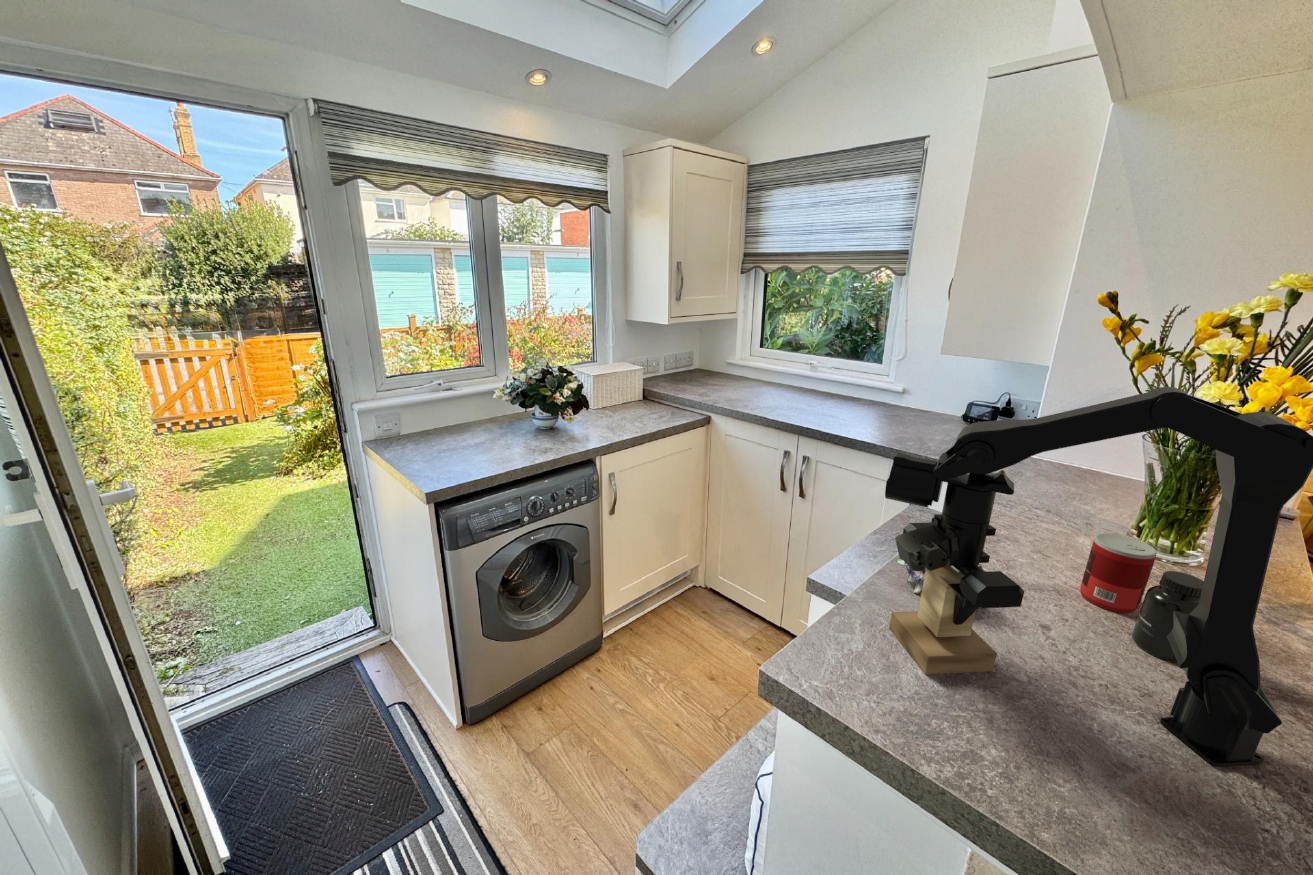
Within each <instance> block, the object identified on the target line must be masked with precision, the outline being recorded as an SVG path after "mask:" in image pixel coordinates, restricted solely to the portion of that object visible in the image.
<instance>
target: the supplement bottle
mask: <svg viewBox="0 0 1313 875" xmlns="http://www.w3.org/2000/svg"><path fill="white" fill-rule="evenodd" d="M1203 583H1204V579H1201V578H1199V577H1197V576H1195V575H1192V574H1189V573H1186V572H1182V571H1178V570H1177V571H1175V570H1167V571H1164V572H1163V574H1162V575H1161V579H1160V580H1159V583H1158V584H1159V585H1152V586H1151V587H1149V588H1148V589H1147V591H1146V593H1145V595H1144V598H1143V601H1142V604H1141V606H1140V609H1139V612H1138V615H1137V618H1136V619H1135V620H1136V621H1135V623H1134V627H1133V629H1132V632H1131V638H1132V640H1133V642H1134V643H1135V645H1137V647H1139V648H1140V649H1142V650H1143V651H1144V652H1146V653H1148V654H1150V655H1152V656H1154V657H1156V658H1159V659H1162V660H1164V661H1169V662H1173V663H1174V662H1175V663H1178V661H1177V659H1176V657H1175V654H1174V652H1173V649H1172V647H1171V645H1170V642H1169V640H1168V637H1167V635H1168V634H1169V633H1170V632H1171V631H1172V629H1173V626H1174V619H1173V611H1178V612H1182V613H1185V614H1188V615H1189V614H1190V613H1191V612H1192V611H1193V610H1194V609H1195V608H1196V607H1197V606H1198V604H1199V602H1200V597H1201V593H1202V588H1203Z"/></svg>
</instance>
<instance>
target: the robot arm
mask: <svg viewBox="0 0 1313 875" xmlns="http://www.w3.org/2000/svg"><path fill="white" fill-rule="evenodd" d="M1161 429H1170V430H1172V431H1175V432H1177V433H1179V434H1182V435H1184V436H1185V437H1188V438H1190V439H1193V440H1194V441H1196V442H1199V443H1201V444H1203V445H1206V446H1207V447H1210V448H1212V449H1214V450H1215V464H1216V468H1217V473H1218V474H1217V475H1218V478H1219V483H1220V488H1221V498H1220V502H1219V508H1218V512H1217V517H1216V520H1215V521H1216V522H1215V527H1214V531H1213V536H1212V541H1211V547H1210V550H1209V554H1208V555H1209V556H1208V560H1207V564H1206V570H1205V575H1204V579H1203V581H1204V583H1203V588H1202V593H1201V597H1200V602H1199V604H1198V606H1197V607H1196V608H1195V609H1194V610H1193V611H1192V612H1191V613H1190V614H1189V615H1188V614H1185V613H1182V612H1178V611H1173V619H1174V626H1173V629H1172V631H1171V632H1170V633H1169V634H1168V635H1167V637H1168V640H1169V642H1170V645H1171V647H1172V649H1173V652H1174V654H1175V657H1176V659H1177V661H1178V662H1177V663H1178V666H1179V668H1180V669H1183V671H1184V673H1185V676H1186V677H1187V681H1186V682H1185V684H1184V687H1180V688H1178V692H1177V693H1176V696H1175V699H1174V702H1173V704H1172V706H1171V709H1170V711H1169V712H1170V713H1169V714H1170V716H1169V717H1168V716H1166V717H1160V719H1159V723H1160V724H1161V725H1162V726H1164V727H1165V728H1166V729H1167V730H1168V731H1170V732H1171V733H1172V734H1173V735H1175V736H1176V737H1177V738H1179V740H1181V741H1182V742H1183V743H1184V744H1185V745H1187V746H1188V747H1189V748H1190V749H1192V750H1193V751H1194V752H1195V753H1197V754H1198V755H1199V756H1200V757H1202V758H1203V759H1204V760H1205V761H1206V762H1207V763H1209V764H1211V765H1212V766H1214V767H1226V766H1245V765H1256V764H1257V765H1258V764H1263V763H1264V760H1265V758H1264V757H1263V756H1261V754H1260V755H1259V753H1257V748H1258V746H1259V744H1260V743H1261V740H1262V738H1263V736H1264V734H1269V733H1272V731H1274V730H1275V729H1276V728H1278V727H1279V726H1281V725H1282V723H1283V722H1282V719H1281V718H1280V716H1279V714H1278V713H1277V711H1276V710H1275V708H1274V706H1273V705H1272V703H1271V701H1270V700H1269V698H1268V696H1267V694H1266V693H1265V691H1264V689H1263V688H1262V686H1261V685H1262V683H1261V668H1260V663H1261V661H1260V656H1259V652H1258V647H1257V642H1256V637H1255V636H1256V635H1255V633H1254V624H1255V621H1256V615H1257V612H1258V607H1259V603H1260V599H1261V594H1262V591H1263V587H1264V583H1265V579H1266V573H1267V571H1268V567H1269V562H1270V557H1271V553H1272V549H1273V545H1274V540H1275V537H1276V534H1277V529H1278V524H1279V521H1280V516H1281V513H1282V510H1283V508H1284V507H1285V505H1286V504H1287V503H1289V501H1290V500H1292V499H1293V497H1295V495H1296V494H1297V493H1298V492H1299V491H1301V490H1302V488H1303V487H1304V486H1305V483H1306V481H1308V478H1309V476H1310V475H1311V472H1312V471H1313V435H1311V434H1310V433H1309V432H1308V431H1306V430H1305V429H1303V428H1301V427H1299V426H1297V425H1296V424H1294V423H1292V422H1290V421H1288V420H1287V419H1284V418H1282V417H1280V416H1277V415H1275V414H1273V413H1269V412H1263V411H1261V412H1260V411H1252V412H1244V413H1241V412H1238V411H1235V410H1233V409H1230V408H1228V407H1225V406H1224V405H1223V406H1222V405H1219V404H1218V403H1217V404H1216V403H1214V402H1211V401H1208V400H1205V399H1202V398H1200V397H1199V398H1198V397H1196V396H1193V395H1191V394H1188V393H1187V392H1185V391H1184V390H1181V389H1180V388H1177V387H1173V386H1160V387H1156V388H1153V389H1151V390H1149V391H1146V392H1143V393H1140V394H1135V395H1130V396H1127V397H1122V398H1117V399H1114V400H1109V401H1105V402H1100V403H1097V404H1093V405H1092V404H1091V405H1088V406H1084V407H1078V408H1075V409H1070V410H1065V411H1062V412H1057V413H1054V414H1053V413H1052V414H1048V415H1046V416H1044V415H1043V416H1040V417H1035V418H1030V419H999V420H998V419H996V420H987V421H978V422H977V421H976V422H972V423H970V424H968V425H965V427H963V428H962V429H961V431H960V432H959V433H958V434H957V437H956V439H955V442H954V445H953V446H951V447H950V448H949V449H947V450H946V451H945V452H943V453H941V455H940V456H939V458H938V459H937V460H932V459H928V458H921V457H920V458H919V457H916V456H911V455H908V454H906V453H899V452H897V453H895V455H894V457H893V461H892V464H891V468H890V471H889V476H888V478H887V479H886V482H885V491H884V498H885V499H886V500H891V501H896V502H900V503H905V504H910V505H914V506H919V507H923V508H927V509H928V508H929V506H932V505H933V502H935V503H939V502H940V497H941V492H942V487H943V483H947V485H946V490H945V494H944V501H943V506H942V511H941V513H940V514H939V513H937V514H934V515H933V517H932V518H931V520H930V522H909V523H908V524H907V525H906V526H905V527H903V529H902V533H901V534H898V535H897V536H896V537H895V538H894V539H895V544H896V550H897V553H898V556H899V558H900V559H901V560H903V561H904V562H905V563H906V564H907V565H908V566H909V568H910V569H912V570H914V571H921V570H924V569H925V568H926V569H927V570H929V571H932V570H935V569H938V568H941V567H944V566H946V565H949V566H951V567H952V568H953V569H954V570H956V571H957V572H961V573H962V574H963V575H965V576H964V577H962V578H961V581H960V583H959V584H948V585H949V586H950V588H951V589H952V590H953V591H954V592H955V594H956V595H955V604H954V612H953V623H954V624H955V625H961V624H963V623H964V622H965V621H966V620H967V619H968V618H969V617H970V616H971V615H972V614H973V613H974V612H975V611H976V612H977V611H978V610H979V609H1000V608H1002V609H1003V608H1021V607H1022V603H1023V600H1024V599H1023V598H1024V596H1025V590H1024V589H1023V588H1022V587H1021V586H1020V585H1019V584H1018V583H1017V582H1015V581H1014V580H1013V579H1011V578H1010V577H1009V576H1007V575H1006V574H1005V573H1003V572H1002V571H1000V570H996V571H985V570H984V568H983V569H981V568H980V567H979V566H980V565H979V564H988V563H989V562H990V559H991V556H990V555H989V554H988V553H986V552H985V551H984V549H985V544H986V541H987V537H993V536H996V531H997V528H995V527H994V526H993V525H991V524H990V523H991V517H992V514H993V513H992V512H993V509H994V503H995V499H996V495H997V493H998V494H1004V495H1008V496H1009V495H1010V496H1011V495H1012V496H1013V495H1014V493H1015V483H1014V482H1013V480H1011V478H1009V476H1007V474H1006V471H1005V470H1003V469H1005V468H1009V467H1012V466H1014V465H1017V464H1018V463H1019V464H1020V463H1021V462H1022V461H1025V460H1027V459H1029V458H1031V457H1032V456H1033V457H1034V456H1036V455H1039V454H1041V453H1045V452H1049V451H1050V452H1051V451H1054V450H1061V449H1065V448H1070V447H1076V446H1081V445H1085V444H1090V443H1095V442H1101V441H1106V440H1110V439H1111V440H1112V439H1115V438H1120V437H1124V436H1125V437H1126V436H1131V435H1135V434H1140V433H1145V432H1151V431H1155V430H1161ZM997 471H998V472H997ZM995 472H996V473H995ZM992 473H993V474H992ZM976 612H975V613H976Z"/></svg>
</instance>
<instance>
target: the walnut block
mask: <svg viewBox="0 0 1313 875" xmlns="http://www.w3.org/2000/svg"><path fill="white" fill-rule="evenodd" d="M888 629H889V630H890V631H891V633H892V634H893V635H894V636H896V637H895V638H896V640H897V641H898V642H899V643H900V644H901V646H902V647H903V648H904V650H905V651H906V652H907V653H908V655H909V656H910V657H911V659H912V660H913V662H915V664H917V666H918V667H919V669H920V670H921V671H922V673H923V674H924V675H938V674H939V675H940V674H942V675H945V674H959V673H961V674H962V673H982V672H984V673H985V672H993V671H994V667H995V663H996V659H997V656H998V655H997V654H998V652H996V651H995V650H994V649H993V648H992V647H991V646H990V645H989V644H988V643H987V642H986V641H985V640H984V639H983V638H982V637H981V636H980V635H979V634H978V633H977V632H976V631H975V630H974V629H973V628H972V630H971V635H970V636H951V637H936V636H935V634H934V633H933V632H932V631H931V630H930V629H929V628H928V627H927V626H926V624H925V623H924V622H923V621H922V620H921V619H920V618H919V617H918V610H916V611H915V610H914V611H910V610H909V611H891V616H890V623H889V627H888Z"/></svg>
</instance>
